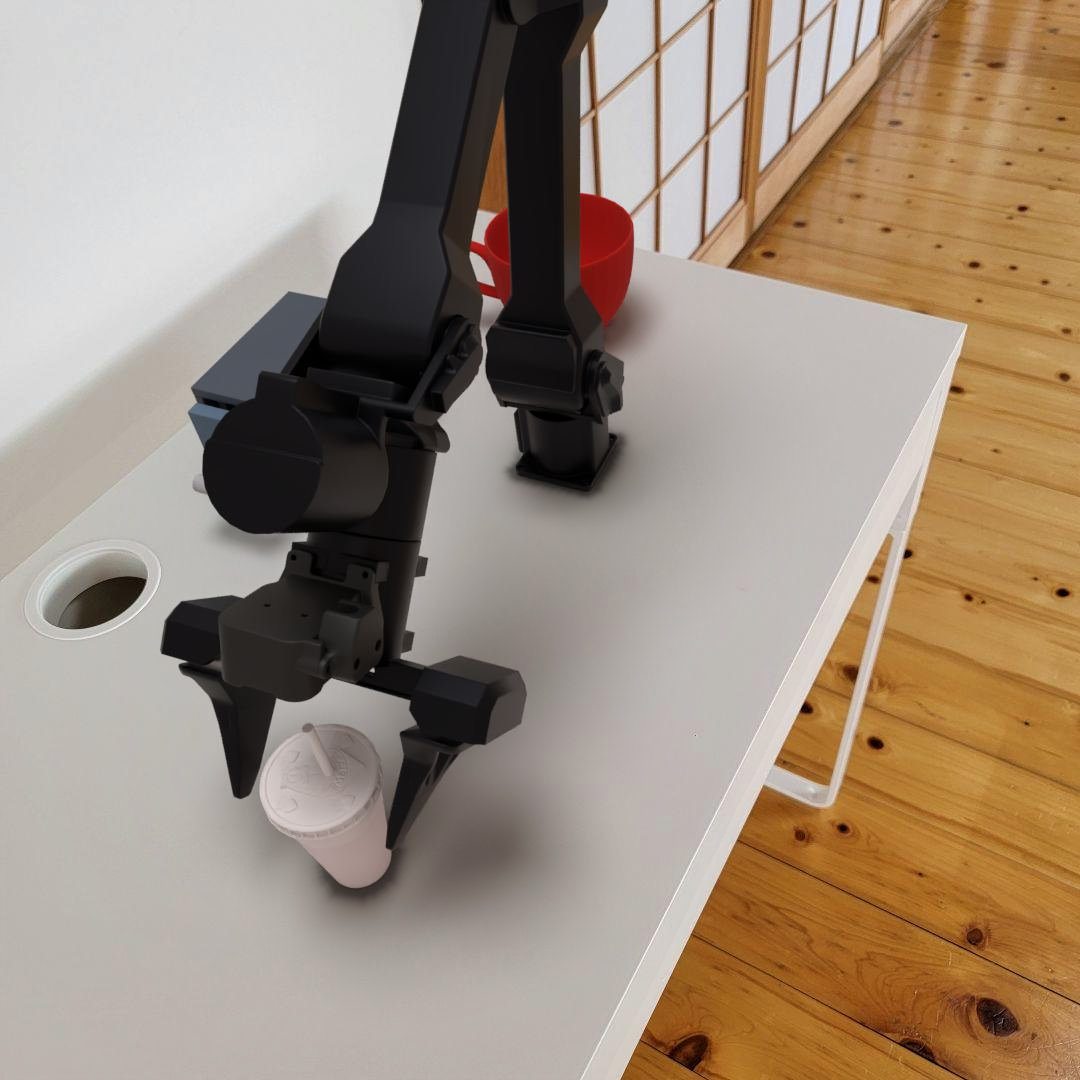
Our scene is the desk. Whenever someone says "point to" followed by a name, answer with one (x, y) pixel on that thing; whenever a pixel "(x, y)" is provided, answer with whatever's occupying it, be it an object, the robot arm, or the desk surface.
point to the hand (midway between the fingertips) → (315, 821)
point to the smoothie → (330, 800)
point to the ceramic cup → (600, 254)
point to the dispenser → (259, 351)
